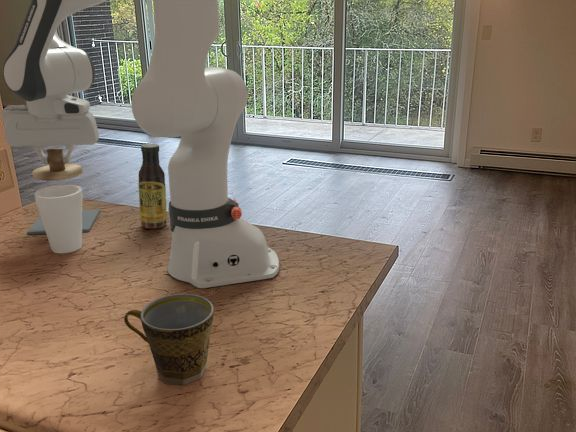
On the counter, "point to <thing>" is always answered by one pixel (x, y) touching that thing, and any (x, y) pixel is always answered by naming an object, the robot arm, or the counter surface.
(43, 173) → the lid
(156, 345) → the ceramic cup
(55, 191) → the foam cup
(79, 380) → the counter surface
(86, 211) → the mat
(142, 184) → the sauce bottle
